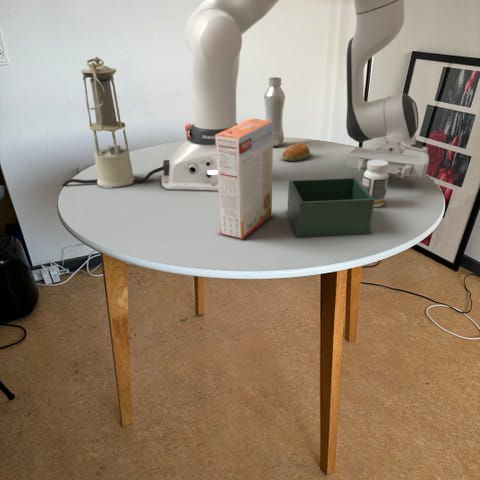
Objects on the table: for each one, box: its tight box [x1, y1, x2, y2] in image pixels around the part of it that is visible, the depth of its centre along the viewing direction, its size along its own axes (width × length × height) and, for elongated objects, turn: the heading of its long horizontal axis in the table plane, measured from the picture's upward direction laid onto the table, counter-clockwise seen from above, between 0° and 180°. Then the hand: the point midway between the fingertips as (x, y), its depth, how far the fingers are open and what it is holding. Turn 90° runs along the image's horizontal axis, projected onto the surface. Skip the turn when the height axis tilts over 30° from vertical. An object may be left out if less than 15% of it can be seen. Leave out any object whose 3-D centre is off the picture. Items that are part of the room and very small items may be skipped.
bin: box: [286, 177, 374, 238], centre depth 101 cm, size 15×13×8 cm
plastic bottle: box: [263, 76, 286, 147], centre depth 146 cm, size 6×7×20 cm
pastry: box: [281, 142, 311, 162], centre depth 140 cm, size 9×7×4 cm
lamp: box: [80, 56, 136, 189], centre depth 116 cm, size 10×13×30 cm
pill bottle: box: [361, 159, 389, 208], centre depth 108 cm, size 6×6×10 cm
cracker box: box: [215, 118, 274, 240], centre depth 96 cm, size 14×6×21 cm, turn 150°
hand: (380, 171), depth 112 cm, fingers open, 8 cm apart
